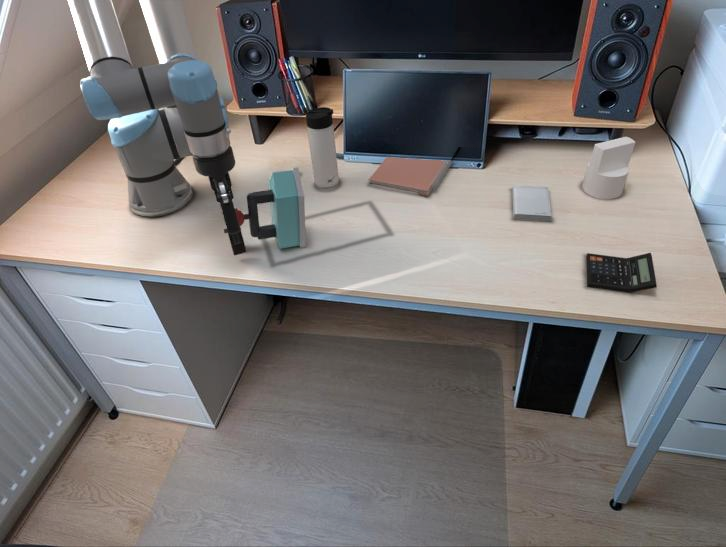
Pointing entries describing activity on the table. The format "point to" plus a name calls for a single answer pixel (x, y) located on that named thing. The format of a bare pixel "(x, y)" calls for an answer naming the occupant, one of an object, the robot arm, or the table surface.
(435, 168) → the notebook
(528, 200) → the hard drive
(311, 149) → the travel mug
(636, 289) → the calculator
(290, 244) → the iron
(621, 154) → the cylinder with rectangular tab
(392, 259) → the table surface
